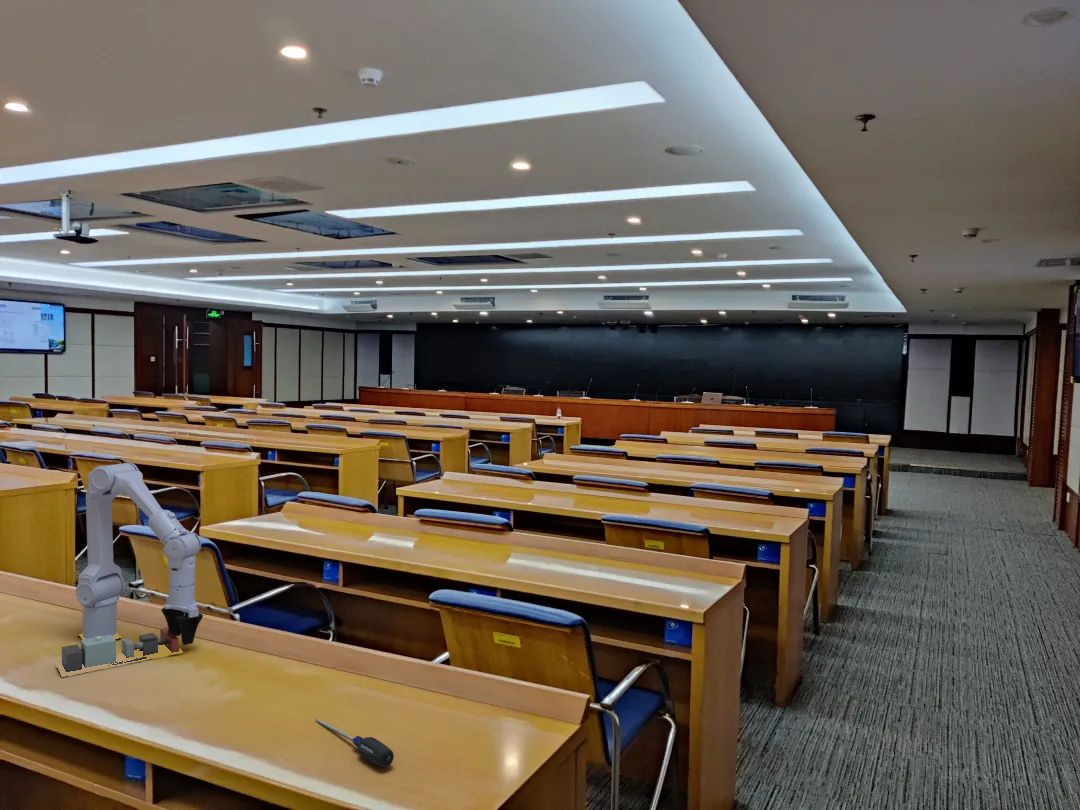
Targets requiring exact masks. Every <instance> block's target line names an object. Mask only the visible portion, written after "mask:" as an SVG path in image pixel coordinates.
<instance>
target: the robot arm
mask: <svg viewBox="0 0 1080 810" xmlns="http://www.w3.org/2000/svg"><path fill="white" fill-rule="evenodd" d="M143 478H144V477H143V473H142V472H141V471H140V469H139V468H138V466H137V465H136V464H134V463H132V462H123V463H117V464H109V465H97V466H95V467H94V468H93V469H91V471H90V472H89V473H88V474H87V490H86V492H85V493H86V494H85V507H86V508H85V510H86V511H85V512H86V513H85V516H86V542H87V543H86V546H87V547H86V548H87V566H86V567H85V568H84V569H83V570H82V572H81V573H79V575H78V583H77V585H76V588H75V597H76V600H77V601H78V602H79V604H80V606H81V607H82V620H81V621H82V629H81V632H82V631H83V637H84V638H86V639H89V638H95V637H96V636H106V635H112V636H113V635H115V634H116V633H117V632H118V628H117V627H118V601H119V600H120V596H121V595H122V594H123V592H124V591H125V587H126V585H125V580H124V577H123V575H122V568H121V567H120V566H119V565H117V564H116V563H115V562H114V542H113V541H114V539H113V537H114V536H113V504H112V503H113V502H112V501H113V500H114V499H116V497H118V496H119V495H120V496H127V497H129V499H130V500H132V502H133V503H134V504H135V505H136V506H137V507H138V508H139V509H140V510H141V512H143V513H144V514H145V515H146V517H148V523H147V524H148V527H149V528H150V529H151V531H152V532H153V533H154V535H156V537H157V538H158V540H159V541H160V542H161V543H162V544H163V546H164V547H163V553H164V556H165V558H166V560H167V566H168V567H169V568H168V571H169V572H168V576H169V577H168V596H166V597H165V604H163V608H161V611H160V612H161V613H162V614H163V616H164V618H165V620H166V625H167V628H168V629H169V630H170V631H171V632H172V633H173V634H174V635H175V636H176V637H180V636H181V643H182V646H187V645H191V644H193V643H194V640H195V636H196V634H197V633H196V632H197V629H198V626H199V624H200V623H201V622H202V619H203V617H204V616H203V614H202V613H199V607H197V600H196V555H198V553H200V551H201V548H202V542H201V539H200V537H199V536H198V534H197V533H195V532H191V531H189V530H188V529H186V528H185V527H184V525H182V523H180V521H179V520H178V519H177V517H176V514H175V512H172V511H171V510H168V509H163V508H162V507H161V505H160V504H159V503H158V501H157V500H156V498H155V496H154V495H153V494H152V493H151V490H149V488H148V487H147V485H146V484H145V482H144V480H143Z"/></svg>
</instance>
